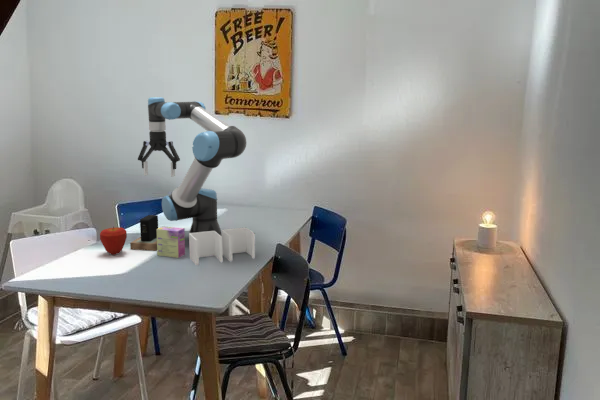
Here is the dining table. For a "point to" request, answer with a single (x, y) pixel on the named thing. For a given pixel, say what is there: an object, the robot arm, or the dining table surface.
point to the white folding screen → (221, 244)
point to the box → (171, 242)
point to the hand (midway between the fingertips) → (159, 175)
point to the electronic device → (149, 227)
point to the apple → (113, 239)
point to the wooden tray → (144, 245)
